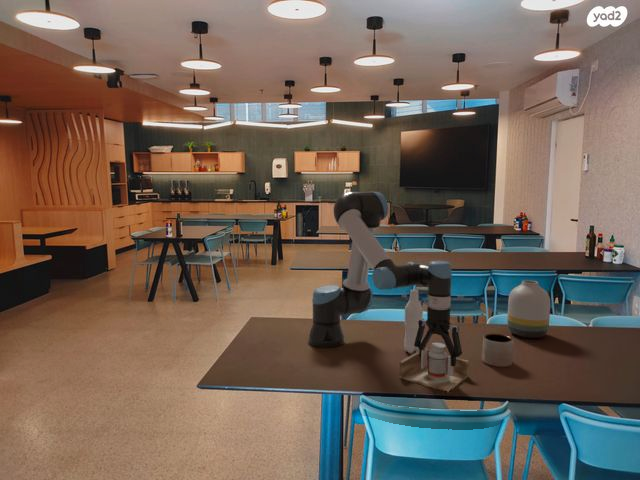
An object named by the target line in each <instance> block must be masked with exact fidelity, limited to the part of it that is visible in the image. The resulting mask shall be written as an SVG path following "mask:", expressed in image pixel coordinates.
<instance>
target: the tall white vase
mask: <svg viewBox="0 0 640 480" xmlns="http://www.w3.org/2000/svg"><path fill="white" fill-rule="evenodd" d="M409 293H410V294H409V300H408V302H407V303H406V305H405V308H404V322H403V324H404V325H403V326H404V329H405V330H404V332H405V335H404V340H403V347H404V350H405V352H408V353H409V354H414V353H416V352H418V351H419V348H418V347H415V346H414V343H415V339H416V336H417V332H418V328H419V323H418V321H419V320H421V319H424V318H423V315H424V310H423V306H422V304H421V302H420V300H419V297H420V295H419V290H418V289H410V292H409ZM422 341H423V340H421V342H422Z"/></svg>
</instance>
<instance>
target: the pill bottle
mask: <svg viewBox="0 0 640 480" xmlns="http://www.w3.org/2000/svg"><path fill="white" fill-rule="evenodd" d="M429 347H430V348H429V351H430V352H429V354H428V376H429V377H430V378H432V379H435V380H442V379H445V378H446V364H447V356H448V354H447V353H446V349H447V346H446V344H445V343H441V342H432V343H430V345H429Z"/></svg>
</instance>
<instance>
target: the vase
mask: <svg viewBox="0 0 640 480" xmlns="http://www.w3.org/2000/svg"><path fill="white" fill-rule="evenodd" d="M507 302H508V303H507V327H508V330H509V331H510V333H512V334H513V335H516V336H519V337H522V338H527V339H528V338H529V339H538V338H542V337H544V336H546V334H547V333H548V331H549V329H550V316H551V297H550V295H549V293H548V292H547V291H546V290H545V289H544V288H542V287H541V286H540V285H539V282H538V281H536V280H529V279H525V280H522V281H521V283H520V284H519V285H517V286H515V287H514V288H512V290H511V291H510V293H509V295H508V301H507Z"/></svg>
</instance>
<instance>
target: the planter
mask: <svg viewBox="0 0 640 480" xmlns="http://www.w3.org/2000/svg"><path fill="white" fill-rule="evenodd" d="M481 352H482V353H481V361H482V362H483V363H485V364H486V365H488V366H491V367H496V368H506V367H510V366H512V365H513V362H514V338H513V337H512V336H509V335H506V334H504V333H503V334H502V333H493V332H492V333H486V334H483V336H482V349H481Z"/></svg>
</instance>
